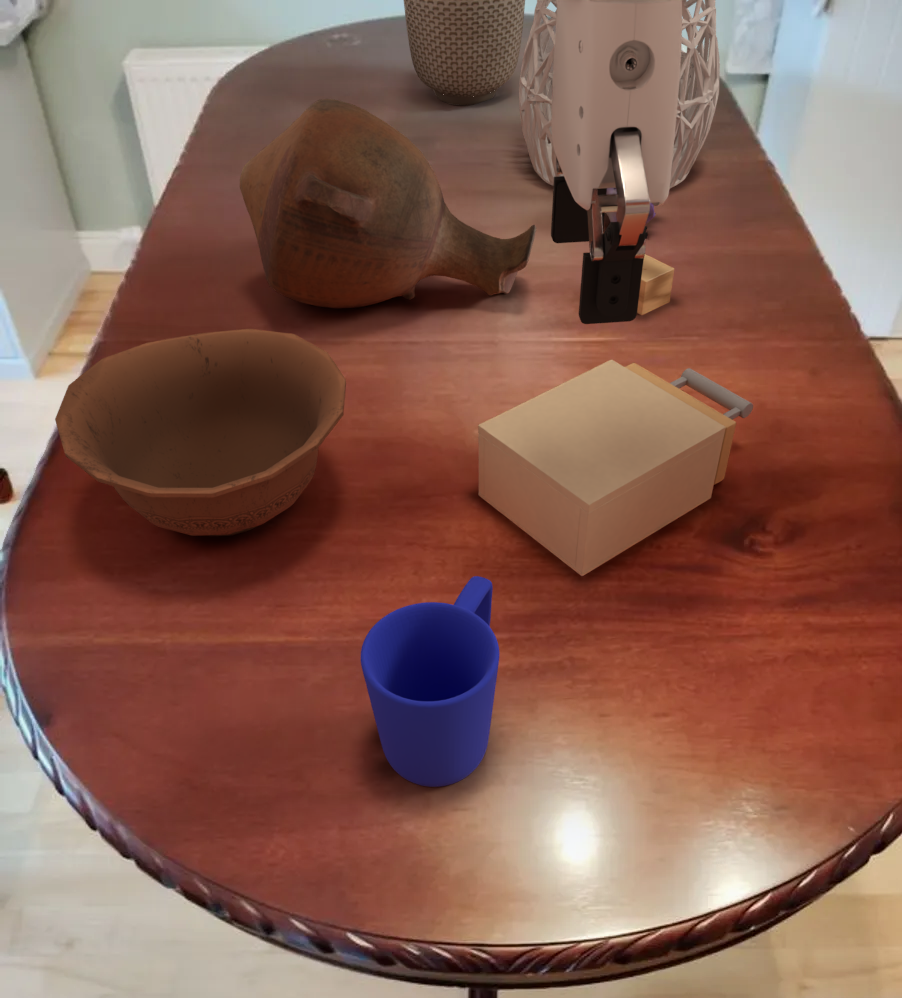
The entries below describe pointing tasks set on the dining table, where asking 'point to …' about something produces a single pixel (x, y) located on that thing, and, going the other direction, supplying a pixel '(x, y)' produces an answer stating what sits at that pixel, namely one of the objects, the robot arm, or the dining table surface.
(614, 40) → the robot arm
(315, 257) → the jug
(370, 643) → the mug
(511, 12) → the planter
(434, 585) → the dining table surface
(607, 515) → the cabinet
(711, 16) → the vase
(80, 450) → the bowl
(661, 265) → the block
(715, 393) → the drawer
